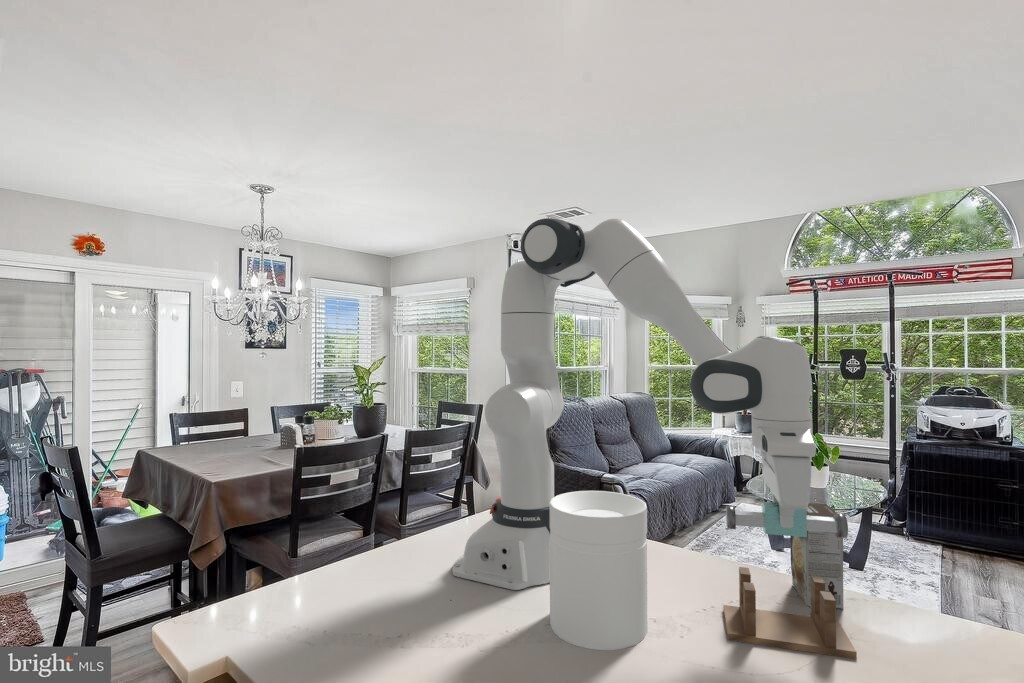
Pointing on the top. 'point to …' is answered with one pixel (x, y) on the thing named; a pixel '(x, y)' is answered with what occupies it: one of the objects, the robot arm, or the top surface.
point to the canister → (598, 569)
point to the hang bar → (800, 521)
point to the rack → (788, 622)
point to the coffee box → (818, 559)
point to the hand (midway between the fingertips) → (783, 522)
